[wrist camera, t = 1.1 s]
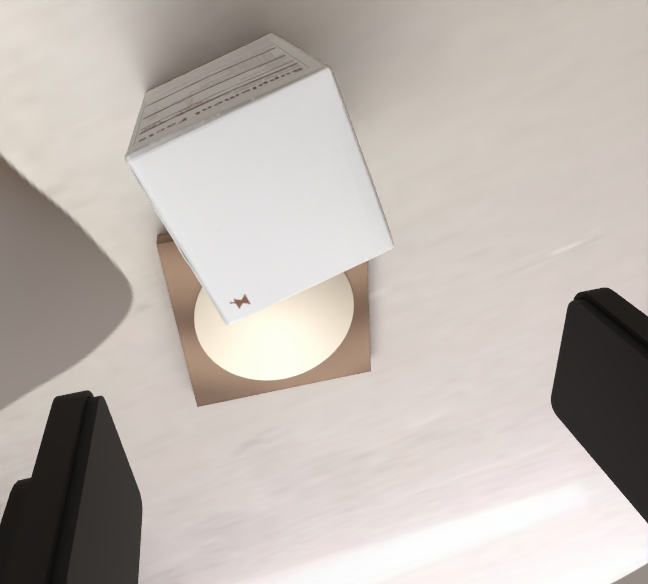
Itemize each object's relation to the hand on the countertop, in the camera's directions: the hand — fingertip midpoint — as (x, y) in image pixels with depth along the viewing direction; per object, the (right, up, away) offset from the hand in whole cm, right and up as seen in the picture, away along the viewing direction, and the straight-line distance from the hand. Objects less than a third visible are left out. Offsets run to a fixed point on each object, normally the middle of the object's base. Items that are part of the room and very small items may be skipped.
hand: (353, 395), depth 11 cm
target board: (-4, +1, +25) cm, 25 cm away
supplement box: (-5, +11, +19) cm, 22 cm away
